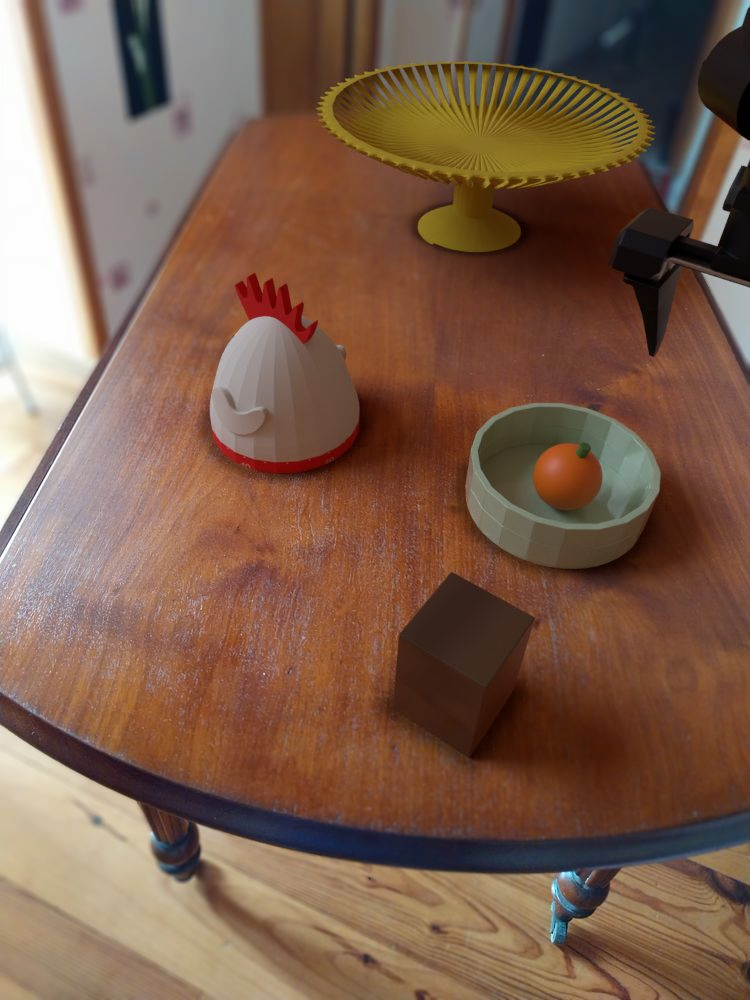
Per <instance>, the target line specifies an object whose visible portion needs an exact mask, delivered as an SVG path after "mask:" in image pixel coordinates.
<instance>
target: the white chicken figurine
mask: <svg viewBox="0 0 750 1000" xmlns="http://www.w3.org/2000/svg"><path fill="white" fill-rule="evenodd" d="M234 288H235V292H236V294H237V297H238V299H239V301H240V303H241V306H242V308H243V310H244V312H245V314H246V317H247V318H248V321H247V322H245V323H244V324H243V325H242V326H241V327H240V328H239V330H238V331H237V332H236V333H235V334H233V335H232V336H231V339H230V341H229V342H228V343H227V345H226V347H225V349H224V351H223V352H222V354H221V357H220V359H219V363H218V366H217V369H216V372H215V377H214V381H213V386H212V391H211V394H210V402H209V418H210V422H211V423H210V425H211V431H212V435H213V436H212V437H213V442H215V444H216V445H217V447H218V448H219V450H220V451H221V453H222V454H223V455H224V456H226V457H227V458H229V460H231V461H232V462H234V463H235V464H238V465H240V466H243V467H245V468H248V469H250V470H254V471H257V472H264V473H270V474H292V473H295V474H297V473H302V472H306V471H310V470H315V469H317V468H321V467H323V466H325V465H327V464H329V463H331V462H333V461H336V460H337V459H339V458H340V457H341V456H342V455H343V454H344V453H346V452H347V451H348V450H349V449H350V448H351V447H352V446H353V444H354V442H355V440H356V439H357V437H358V435H359V430H360V417H361V416H360V414H361V413H360V412H361V411H360V410H361V409H360V401H359V397H358V392H357V390H356V386H355V384H354V381H353V379H352V376H351V373H350V371H349V368H348V366H347V364H346V359H347V350H346V348H345V347H344V345H342V344H336V343H335V341H333V340H332V338H331V337H330V336H329V335H328V334H327V333H326V332H325V331H324V330H323V329H322V328H321V327H320V326H319V325H318V324H319V320H318V319H317V320H315V321H313V320H311V319H309V318H307V317H306V316H304V315H303V313H304V307H305V303H304V301H301V302H299V303H298V304H296V305H294V306H293V307H292V302H291V296H290V289H289V286H288V283H286V282H285V283H283V284H282V285H280V286H279V287H278V288H277V292H276V287H275V281H274V278H273V277H270V278H269V279H267V280H266V281H265V282H264V283H263V286H262V288H261V285H260V281H259V279H258V277H257V274H256V273H255V272H253V273H251V274H249V275H247V276H246V283H245V282H244V281H243V280H240V281H238V282H237V283H235V284H234Z"/></svg>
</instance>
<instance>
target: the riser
mask: <svg viewBox="0 0 750 1000" xmlns="http://www.w3.org/2000/svg"><path fill="white" fill-rule="evenodd" d="M535 620H536V617H535V616H533V615H531V614H530V613H528V612H527V611H525V610H522V609H521V608H519V607H517V606H515V605H513V604H511V603H509V602H508V601H506V600H504V599H502V598H500V597H499V596H497V595H496V594H493V593H491V592H490V591H488V590H486V589H484V588H482V587H481V586H479V585H477V584H476V583H473V582H471V581H469V580H468V579H466V578H464V577H462V576H461V575H459V574H457V573H455V572H453V571H450V572H449V574H448V575H447V576H446V577H445V578H444V579H443V580H442V582H441V583H440V584H439V586H438V587H437V588H436V589H435V590H434V591H433V593H432V594H431V595H430V596H429V598H428V599H427V600H426V601H425V603H424V604H423V605H422V606H421V607H420V608H419V609H418V611H417V612H416V613H415V614H414V615H413V617H412V618H411V619H410V620H409V621H408V622H407V624H406V625H405V626H404V627H403V629H402V630H401V631H400V632H399V633H398V638H397V639H398V641H397V653H396V662H395V663H396V664H395V675H394V676H395V677H394V688H393V699H392V709H393V710H394V711H396V712H398V713H399V715H400V714H401V715H402V716H403V717H405V718H407V719H408V720H409V721H411V722H412V723H414V724H415V725H417V726H419V727H420V728H422V729H423V730H425V732H426V731H427V732H428V733H429V734H431V735H432V736H434V737H435V738H437V739H439V740H440V741H442V742H443V743H445V744H446V745H448V746H449V747H451V748H452V749H454V750H455V751H457V752H458V753H460V754H462V755H463V756H464V757H466V758H468V759H469V758H471V756H472V755H473V753H474V752H475V750H476V749H477V747H478V746H479V744H480V743H481V741H482V740H483V738H484V737H485V735H486V734H487V732H488V731H489V729H490V727H491V726H492V724H493V723H494V721H495V720H496V719H497V717H498V715H499V714H500V712H501V711H502V709H503V708H504V706H505V705H506V704H507V702H508V700H509V699H510V697H511V696H512V694H513V693H514V690H515V686H516V684H517V680H518V676H519V673H520V670H521V667H522V663H523V660H524V656H525V654H526V650H527V647H528V643H529V640H530V637H531V634H532V630H533V627H534V624H535Z"/></svg>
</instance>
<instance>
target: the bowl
mask: <svg viewBox="0 0 750 1000" xmlns="http://www.w3.org/2000/svg"><path fill="white" fill-rule="evenodd" d="M472 442H473V443H472V445H471V448H470V452H469V460H468V465H467V473H466V478H465V485H464V489H465V490H464V491H465V503H466V507H467V510H468V512H469V514H470V517H471V519H472V520H473V522H474V523H475V525H476V526H477V528H478V529H479V530H480V531H481V532H482V533H483V535H484V536H486V538H488V539H489V540H490V541H491V542H492V543H493V544H495V546H498V547H499V548H500V549H502V550H503V551H505V552H507V553H508V554H511V555H513V556H514V557H516V558H519V559H521V560H523V561H527V562H528V563H529V562H530V563H532V564H536V565H540V566H543V567H548V568H553V569H554V568H556V569H565V570H566V569H569V570H577V569H588V568H594V567H598V566H601V565H606V564H608V563H611V562H613V561H615V560H617V559H618V558H620V557H622V556H624V555H625V554H627V552H629V550H631V549H632V548H633V547H634V546H635V544H636V543H637V542H638V541H639V538H640V536H641V534H642V533H643V532H644V530H645V528H646V525H647V523H648V520H649V518H650V515H651V513H652V510H653V508H654V506H655V503H656V501H657V499H658V496H659V494H660V492H661V491H660V490H661V477H662V476H661V475H662V472H661V469H660V467H659V465H658V462H657V460H656V457H655V454H654V452H653V450H652V449H651V448H650V447H649V446H648V445H647V444H646V442H644V440H643V439H642V438H641V437H640V436H639V435H638V433H636V432H635V431H633V430H632V429H631V428H629V427H627V426H626V425H624V424H623V423H622V422H620V421H619V420H618V419H615V418H613V417H611V416H608V415H606V414H604V413H601V412H599V411H596V410H594V409H592V408H588V407H583V406H578V405H574V404H569V403H562V402H533V403H528V404H522V405H517V406H512V407H509V408H507V409H505V410H503V411H501V412H499V413H497V414H495V415H493V416H491V417H490V418H489V419H488V420H487V421H486V422H485V423H484V424H483V425H482V426H481V427H480V428H479V429H478V431H477V432H476V434H475V436H474V439H473V441H472ZM563 443H573V444H578V445H580V444H581V443H588V444H589V445H590V446H591V450H590V451H591V452H592V453H593V454H594V455H595V456H596V458H597V459H598V461H599V463H600V465H601V468H602V475H603V479H602V485H601V488H600V491H599V492H598V494H597V496H596V497H595V498H594V499H593V500H592V501H591V502H590V503H589V504H588V505H586V506H584V507H582V508H579V509H576V510H570V511H566V510H559V509H556V508H553V507H551V506H549V505H548V504H546V503H545V502H544V501H543V500H542V499H541V498H540V497H539V495H538V494H537V492H536V489H535V487H534V482H533V472H534V468H535V465H536V463H537V461H538V459H539V458H540V456H541V455H542V454H543V453H544V452H545V451H546V450H548V449H549V448H551V447H553V446H555V445H559V444H563Z"/></svg>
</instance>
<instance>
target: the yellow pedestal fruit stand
mask: <svg viewBox="0 0 750 1000" xmlns="http://www.w3.org/2000/svg"><path fill="white" fill-rule="evenodd" d="M467 64H468V66H467V67H468V73H469V104H468V102H467V95H466V85H465V84H466V83H465V65H467ZM439 65H440V67H441V69H442V72H443V76H444V80H445V84H446V88H447V93H448V98H449V101H448V99H447V97H446V95H445V92H444V89H443V85H442V81H441V78H440V72H439V67H438V66H439ZM452 65H454V67H455V72H456V79H457V85H458V86H457V87H458V96H459V103H458V100H457V97H456V93H455V89H454V88H455V87H454V83H453V75H452ZM479 65H481V68H482V70H481V72H482V76H481V90H480V97H479V98H480V99H479V104H478V103H477V102H478V101H477V100H478V99H477V81H478V69H479ZM425 66H427V67H428V70H429V71H430V74H431V77H432V79H433V83H434V86H435V89H436V93H437V95H438V99H439V100H438V99H437V97H436V95H435V93H434V91H433V89H432V87H431V83H430V80H429V78H428V73H427V71H426V68H425ZM493 66H495V73H494V75H495V76H494V81H493V87H492V91H491V92H492V93H491V97H490V101H489V104H488V93H489V92H488V91H489V84H490V78H491V77H490V76H491V73H492V68H493ZM413 67H414V68H415V69H416V72H417V74H418V76H419V78H420V80H421V82H422V84H423V87H424V89H425V92H426V94H427V97H428V99H429V100H428V99H427V98H426V96H425V94H424V92H423V90H422V88H421V87H420V85H419V83H418V80H417V78H416V76H415V73H414V70H413ZM507 68H509V71H508V75H507V80H506V84H505V87H504V91H503V93H502V97H501V100H500V102H499V105H498V98H499V94H500V90H501V89H500V88H501V85H502V81H503V77H504V74H505V71H506V69H507ZM400 69H402V71H404V73H405V74H406V76H407V78H408V79H409V82H410V83H411V85H412V87H413V89H414V91H415V93H416V94H417V97H418V98H416V96H415V95H414V93H413V92H412V90H411V89H410V87H409V85H408V84H407V82H406V80H405V78H404V76H403V74H402V72H401V70H400ZM521 69H523V70H522V75H521V77H520V80H519V83H518V85H517V88H516V91H515V93H514V96H513V98H512V100H511V103H510V104H509V105H508V101H509V98H510V96H511V93H512V89H513V86H514V83H515V81H516V78H517V76H518V74H519V71H520V70H521ZM389 71H390V72H391V73H392V74H393V76H394V77H395V79H396V80H397V82H398V83H399V85H400V86H401V87H402V90H403V91H404V93H405V94H406V96H407V98H408V99H409V100H408V99H407V98H406V96H405V95H404V94H403V93H402V92H401V90H400V89H399V88H398V86H397V84H396V83H395V81H394V80H393V78H392V76H391V74H390V72H389ZM534 71H536V73H535V76H534V78H533V81H532V83H531V85H530V87H529V88H528V91H527V92H526V95H525V97H524V99H523V101H522V102H521V104H520V105H519V106H518V104H519V102H520V99H521V96H522V94H523V92H524V89H525V87H526V85H527V83H528V82H529V79H530V78H531V76H532V74H533V72H534ZM363 73H364V74H354V75H353V76H354V77H353V78H344V80H345V81H344V82H337V85H338V86H330V87H329V89H331V90H330V91H324V93H325V94H326V95H325V96H320V97H319V98H320V99H321V100H322V101H318V102H317V104H318V105H320V107H315V109H316V110H317V111H318V112H320V113H316V115H317V116H318V117H319V119H317V121H319V122H320V123H321V124H324V125H321V127H322V128H323V129H325V130H327V132H326V133H327V134H329V135H331V136H333V137H335V138H334V140H336V141H338V142H340V143H343V145H342V146H345V147H347V148H350V149H351V150H353V151H355V152H357V153H359V154H361V155H363V156H366V157H367V158H370V159H372V160H374V161H376V162H379V163H381V164H384V165H386V166H388V167H390V168H393V169H396V170H398V171H401V172H403V173H405V174H409V175H412V176H413V177H418V178H420V179H423V180H425V181H426V180H430V181H432V182H434V183H438V182H440V183H442V184H444V185H450V183H452V184H453V185H454V190H453V201H452V204H448V205H445V206H442V207H438V208H435V209H431V210H430V211H427V212H426V213H425V214H424V215H423V216H421V217H420V219H419V220H418V222H417V231H418V234H419V236H421V238H422V239H423V240H424V241H425V242H427V243H428V244H430V245H433V244H435V245H438V246H441V247H443V248H445V249H449V250H453V251H460V252H467V253H486V252H494V251H498V250H499V251H500V250H502V249H506V248H508V247H510V246H511V245H513V244H515V243H516V242H517V241H518V240H519V239H520V237H521V234H522V232H521V227H520V225H519V224H518V222H517V221H516V220H515V219H513V217H511V216H509V215H508V214H506V213H503V212H502V211H499V210H497V209H495V208H494V207H493V201H494V194H495V190H498V189H500V188H504V190H509V189H513V188H515V189H517V190H519V189H523V188H528V189H529V188H533V187H543V186H546V185H551V184H556V183H560V182H565V181H569V180H573V179H579V178H582V177H587V176H592V175H595V174H599V173H604V172H607V171H610V170H611V169H614V168H618V167H622V165H624V164H628V163H632V159H635V158H639V157H640V155H639V154H642V153H645V152H647V151H648V150H647V149H645V148H647V147H650V146H652V144H651V143H649V142H653V141H654V140H655V138H653V137H651V136H653V135H655V134H656V132H654V131H652V130H654V129H655V128H656V126H654V125H650V124H651V123H653V120H651V119H647V118H649V116H650V114H646V113H643V111H644V110H645V109H643V108H638V107H637V106H638V103H636V102H635V103H634V102H631V101H629V100H630V98H629V97H628V98H627V97H623V96H621V94H622V93H619V92H613V91H611V88H607V87H606V88H605V87H601V84H600V83H591V82H589V80H588V79H587V80H586V79H579V78H577V77H578V76H571V75H570V76H568V75H565V73H564V72H562V73H558V72H553V71H552V70H551V69H550V70H547V69H546V70H543V69H539V68H538V67H527V66H524V65H512V64H510V63H505V64H502V63H496V62H495V61H494V62H490V63H489V62H482V61H478V62H474V61H473V62H472V61H468V60H465V61H454V60H451V61H440V60H438V61H437V62H427V61H424V62H423V63H415V62H411V63H410V64H398V66H387V65H386V67H385V68H381V69H380V68H379V69H378V68H374V71H363ZM378 74H380V75H381V76H382V77H383V79H384V80H385V82H386V83H387V84H388V85H389V87H390V88H391V90H392V91H393V93H395V95H396V96H397V98H398V99H399V100H398V99H397V98H396V97H395V95H393V94H392V92H390V90H389V89H388V88H387V87H386V85H385V83H383V81H382V79H381V78H380V76H379V75H378ZM547 74H549V75H548V78H547V80H546V82H545V84H544V86H543V87H542V88H541V91H540V92H539V94H538V95H537V97H536V98H535V100H534V101H533V103H532V104H531V105H530V106H529V104H530V102H531V100H532V97H533V96H534V95H535V92H536V91H537V89H538V87H539V86H540V84H541V83H542V81H543V80H544V78H545V77H546V75H547ZM368 77H370V79H371V80H372V81H373V82H374V83H375V84H376V85H377V87H379V89H380V90H381V91H382V93H383V94H384V95H385V96H386V97H387V99H386V98H385V96H384V95H382V94H381V93H380V92H379V91H378V90H377V88H376V87H375V85H374V84H373V83H372V82H371V80H370V79H369V78H368ZM560 77H561V80H560V81H559V83H558V84H557V86H556V88H555V89H554V90H553V91H552V93H551V95H550V96H549V97H548V98H547V100H546V101H545V102H544V103H543V104H542V105H541V106H540V104H541V103H542V101H543V99H544V98H545V97H546V95H547V93H548V92H549V91H550V89H551V88H552V86H553V85H554V84H555V83H556V81H557V80H558V79H559V78H560ZM359 80H360V81H361V82H362V83H363V84H364V85H365V86H366V87H367V88H368V89H369V90H370V91H371V92H372V93H373V94H374V96H376V97H377V99H379V101H380V102H379V101H378V100H377V99H376V98H374V97H373V96H372V95H371V94H370V92H369V91H368V90H366V89H365V87H363V85H362V84H361V82H360V81H359ZM571 81H573V83H572V85H571V86H570V87H569V89H568V90H567V91H566V93H565V94H564V95H563V96H562V97H561V98H560V100H559V101H558V102H557V103H556V104H554V106H552V104H553V103H554V102H555V100H556V99H557V98H558V97H559V95H560V94H561V93H562V91H563V90H564V89H565V88H566V87H567V86H568V85H569V83H570V82H571ZM584 84H585V86H584V87H583V88H582V89H581V91H579V93H578V94H577V95H576V96H575V97H574V98H573V99H572V100H571V101H570V102H569V103H568V104H567V105H566V106H564V107H563V108H562V109H561V110H560V108H561V107H562V106H563V105H564V104H565V103H566V102H567V101H568V100H569V98H571V96H572V95H573V94H574V93H575V92H577V90H578V89H579V88H580V87H581V86H583V85H584ZM351 85H353V87H355V88H356V89H357V90H358V91H359V92H360V93H361V94H362V95H363V96H365V97H366V98H367V99H368V101H367V100H366V99H365V98H363V97H362V96H361V94H359V93H358V92H357V91H356V89H355V88H353V87H352V86H351ZM344 89H345V90H344ZM594 89H596V90H595V91H594V92H593V93H592V94H591V95H590V96H589V97H588V98H587V99H586V100H585V101H584V102H582V103H581V104H580V105H579V106H578V107H577V108H575V109H574V110H572V111H571V112H570V110H571V109H573V108H574V107H575V106H576V105H577V104H579V102H580V101H581V100H582V99H583V98H585V96H586V95H588V94H589V93H590V92H592V90H594ZM346 91H348V92H349V93H350V94H351V95H353V96H354V97H355V98H356V99H357V100H358V101H360V102H361V103H362V104H363V105H364V106H365V107H364V106H363V105H362V104H360V103H359V102H358V101H356V100H355V99H354V98H353V97H352V96H351V95H350V94H348V93H347V92H346ZM604 93H606V94H605V95H604V96H603V97H602V98H601V99H599V101H597V102H596V103H595V104H594V105H593V106H591V107H590V108H588V109H587V110H586V111H584V112H583V113H581V114H579V113H580V112H582V111H583V110H584V109H585V108H586V107H588V106H589V105H590V104H591V103H592V102H594V101H595V100H596V99H598V98H599V97H601V95H603V94H604ZM339 94H340V95H339ZM341 96H342V97H344V99H343V98H342V97H341ZM613 98H615V99H614V100H613V101H612V102H610V103H608V105H607V106H605V107H604V108H602V109H601V110H600V111H599V112H597V113H595V114H594V115H592V116H590V117H588V116H589V115H591V114H592V113H594V112H595V111H597V109H599V108H601V106H603V105H604V104H606V103H607V102H609V101H611V100H612V99H613ZM345 99H346V100H348V101H349V102H350V103H351V104H352V105H354V106H352V105H351V104H350V103H348V102H347V101H346V100H345ZM418 99H419V100H418ZM335 100H337V101H338V102H339V103H341V104H342V105H344V106H345V107H346V108H345V107H343V106H342V105H341V104H339V103H338V102H337V101H335ZM388 100H389V101H388ZM399 101H400V102H399ZM370 102H371V103H372V104H373V105H372V104H371V103H370ZM620 104H622V105H620ZM618 105H620V106H619V107H617V106H618ZM497 106H498V107H497ZM528 106H529V107H528ZM539 106H540V107H539ZM550 106H552V107H551V108H550ZM335 107H336V108H337V109H336V108H335ZM355 107H356V108H357V109H356V108H355ZM517 107H518V108H517ZM527 107H528V108H527ZM615 107H617V108H616V109H614V110H612V109H613V108H615ZM347 108H348V109H349V110H350V111H352V112H353V113H352V112H350V111H349V110H347ZM549 108H550V109H549ZM338 109H339V110H338ZM548 109H549V110H548ZM627 109H629V110H628V111H626V110H627ZM610 110H612V111H611V112H610V113H608V114H607V115H605V116H604V117H602V118H600V119H598V118H599V117H601V116H602V115H604V114H606V113H607V112H609V111H610ZM341 111H342V112H341ZM558 111H559V112H558ZM623 111H626V112H624V113H623V114H621V115H620V116H618V117H617V118H615V119H613V120H612V121H609V122H607V121H608V120H610V119H612V118H614V117H615V116H617V115H618V114H620V113H622V112H623ZM568 112H569V113H568ZM334 113H335V114H334ZM567 113H568V114H567ZM336 114H337V115H336ZM345 114H346V115H345ZM566 114H567V115H566ZM578 114H579V115H578ZM577 115H578V116H577ZM632 115H634V116H632ZM339 116H340V117H339ZM348 116H349V117H348ZM630 116H631V117H630ZM587 117H588V118H587ZM629 117H630V118H629ZM320 118H321V119H320ZM626 118H628V119H627V120H625V119H626ZM344 119H345V120H344ZM596 119H598V120H596ZM622 120H624V121H623V122H621V121H622ZM636 121H637V122H636ZM605 122H607V123H605ZM618 122H621V123H619V124H617V123H618ZM634 122H636V123H634ZM603 123H605V124H603ZM632 123H634V124H632ZM602 124H603V125H602ZM615 124H617V125H615ZM629 124H632V125H630V126H628V125H629ZM613 125H615V126H614V127H612V126H613ZM626 126H628V127H626ZM609 127H610V128H609ZM623 127H626V128H624V129H622V130H619V129H621V128H623ZM636 128H637V129H636ZM633 129H634V130H633ZM617 130H619V131H617ZM632 130H633V131H632ZM615 131H617V132H615ZM629 131H630V132H629ZM626 132H628V133H626ZM624 133H626V134H624ZM622 134H623V135H622ZM636 134H637V135H636ZM620 135H621V136H620ZM634 135H635V136H634ZM632 136H634V137H632ZM629 137H631V138H629ZM627 138H628V139H627ZM624 139H625V140H624Z"/></svg>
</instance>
